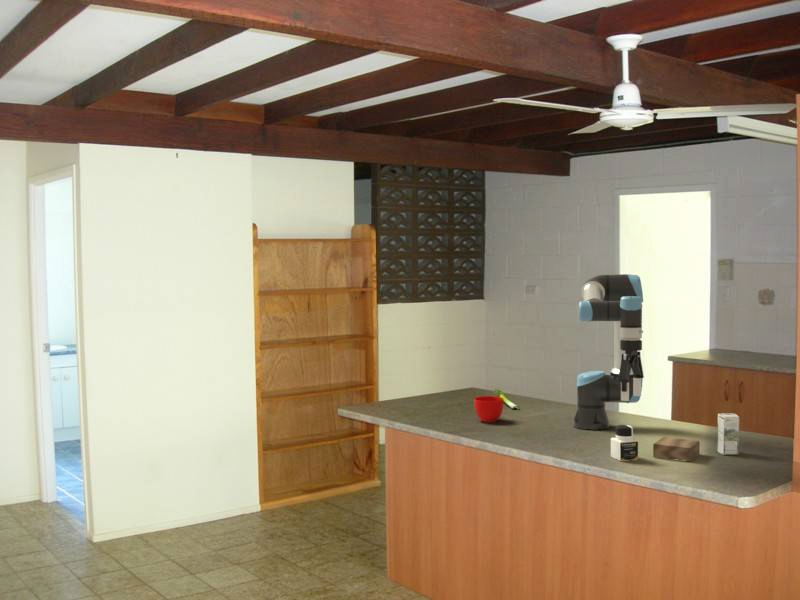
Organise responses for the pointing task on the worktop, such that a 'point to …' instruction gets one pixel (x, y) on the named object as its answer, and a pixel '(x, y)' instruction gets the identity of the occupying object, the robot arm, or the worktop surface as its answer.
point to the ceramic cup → (488, 408)
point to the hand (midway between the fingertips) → (631, 398)
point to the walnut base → (676, 448)
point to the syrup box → (728, 434)
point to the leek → (505, 399)
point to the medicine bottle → (624, 444)
